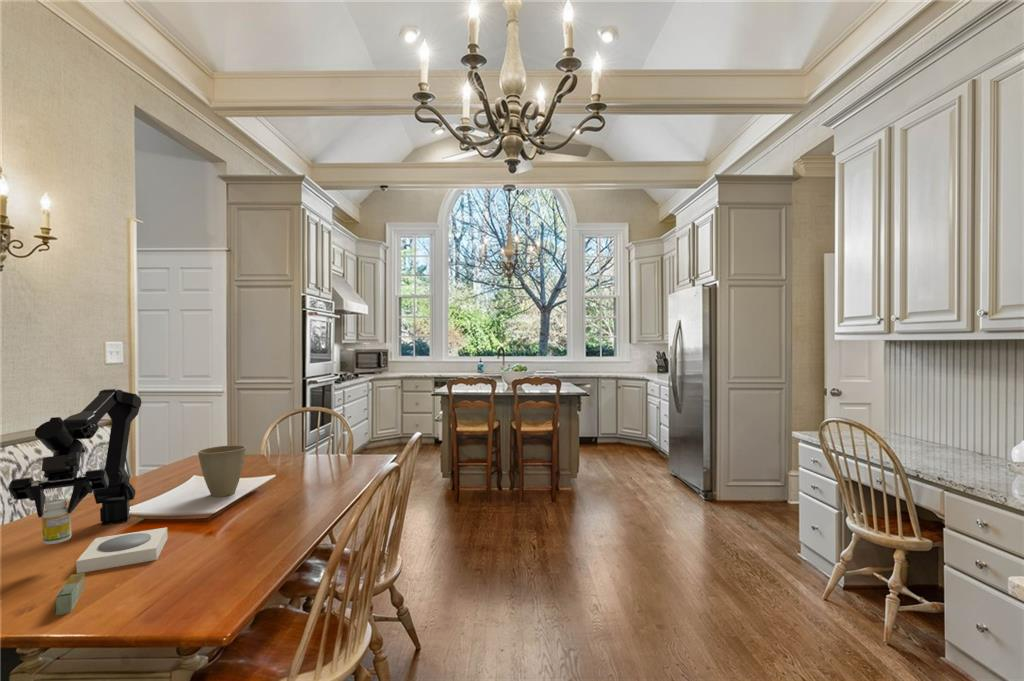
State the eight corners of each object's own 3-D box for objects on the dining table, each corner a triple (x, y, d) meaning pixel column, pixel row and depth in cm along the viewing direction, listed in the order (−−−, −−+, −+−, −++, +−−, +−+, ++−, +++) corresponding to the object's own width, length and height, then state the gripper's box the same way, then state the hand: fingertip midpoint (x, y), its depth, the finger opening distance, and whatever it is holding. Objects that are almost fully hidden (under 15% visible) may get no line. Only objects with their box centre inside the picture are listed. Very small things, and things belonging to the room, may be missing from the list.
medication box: (71, 613, 108) (71, 594, 108) (54, 617, 107) (54, 597, 107) (85, 589, 119) (85, 571, 119) (69, 592, 117) (69, 574, 117)
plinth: (167, 538, 147) (167, 525, 147) (156, 559, 133) (156, 546, 133) (96, 549, 141) (95, 536, 141) (76, 573, 126) (76, 559, 126)
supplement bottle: (66, 542, 129) (64, 503, 129) (38, 546, 127) (37, 506, 127) (75, 534, 134) (73, 496, 134) (48, 538, 132) (46, 500, 132)
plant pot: (254, 492, 189) (253, 447, 189) (209, 502, 178) (208, 454, 178) (235, 485, 199) (234, 443, 199) (192, 495, 187) (190, 450, 187)
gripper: (9, 446, 129) (-8, 505, 120) (103, 438, 138) (94, 491, 128) (23, 471, 137) (8, 527, 127) (112, 461, 145) (104, 513, 135)
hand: (54, 514), depth 129 cm, fingers closed on supplement bottle, 5 cm apart
